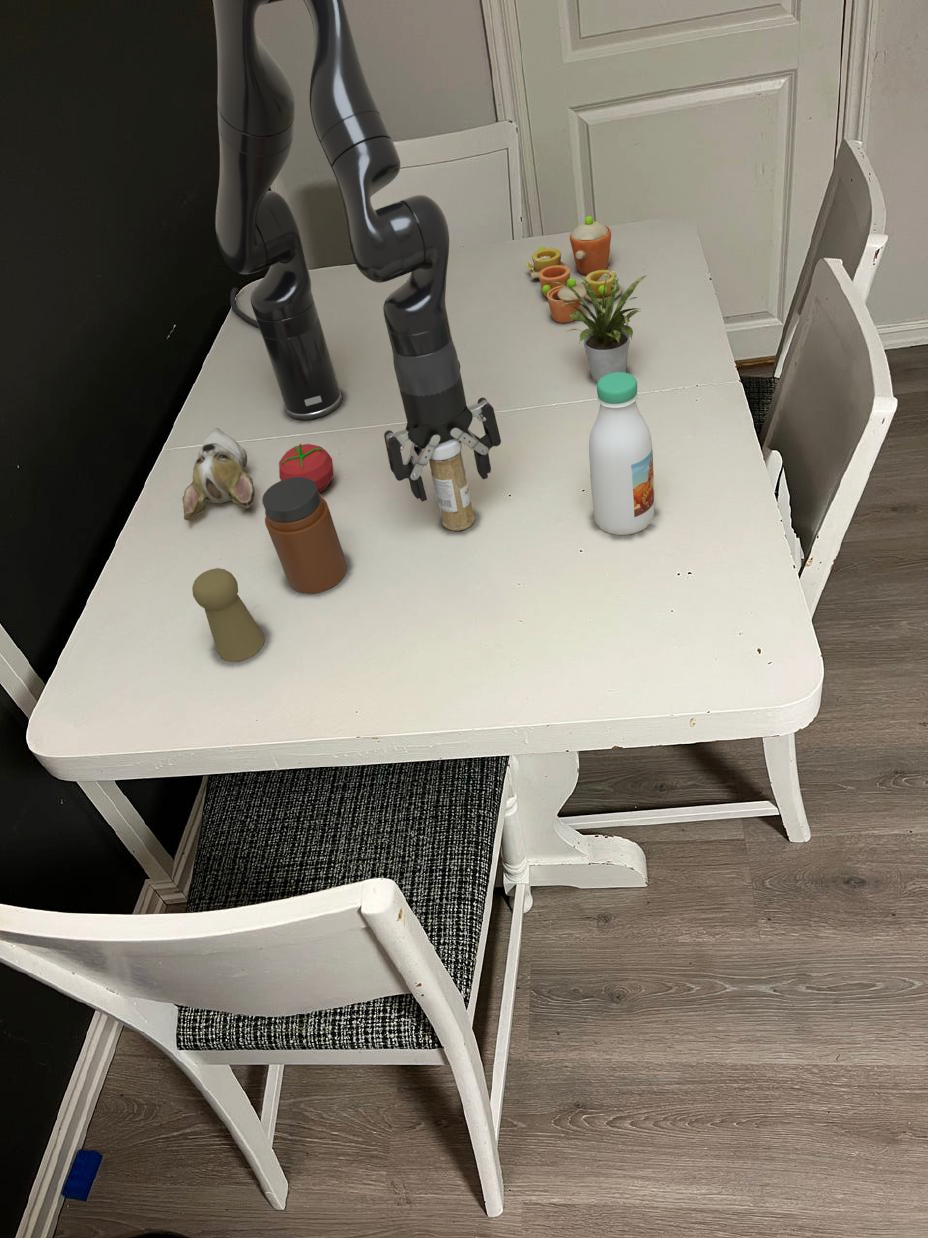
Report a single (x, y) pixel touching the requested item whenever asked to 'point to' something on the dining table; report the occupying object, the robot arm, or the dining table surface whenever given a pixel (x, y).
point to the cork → (227, 616)
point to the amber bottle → (304, 535)
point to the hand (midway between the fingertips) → (452, 486)
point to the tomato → (307, 465)
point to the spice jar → (451, 486)
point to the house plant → (605, 330)
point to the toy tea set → (590, 260)
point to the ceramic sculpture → (218, 475)
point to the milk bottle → (621, 459)
